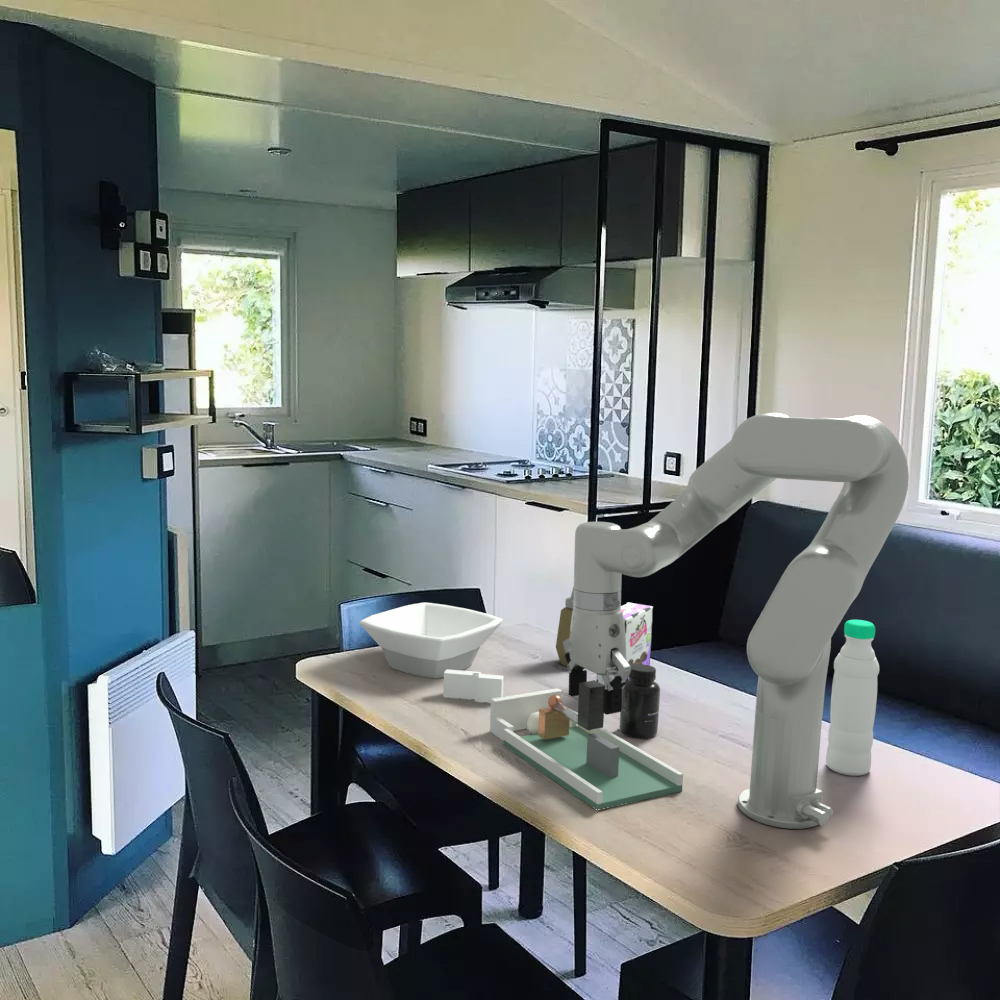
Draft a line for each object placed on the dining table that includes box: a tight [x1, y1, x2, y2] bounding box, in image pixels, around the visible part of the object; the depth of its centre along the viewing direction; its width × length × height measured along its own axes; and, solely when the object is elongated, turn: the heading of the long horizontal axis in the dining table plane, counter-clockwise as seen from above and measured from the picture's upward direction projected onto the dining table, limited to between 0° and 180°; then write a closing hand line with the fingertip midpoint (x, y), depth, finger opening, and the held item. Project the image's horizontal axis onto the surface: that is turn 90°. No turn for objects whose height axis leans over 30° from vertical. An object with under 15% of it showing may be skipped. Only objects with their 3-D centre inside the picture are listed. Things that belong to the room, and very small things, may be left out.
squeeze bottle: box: [555, 585, 574, 667], centre depth 221 cm, size 8×8×18 cm
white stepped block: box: [442, 669, 504, 704], centre depth 197 cm, size 15×11×6 cm
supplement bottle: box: [619, 664, 661, 740], centre depth 182 cm, size 7×7×12 cm
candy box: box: [595, 602, 654, 689], centre depth 206 cm, size 14×6×16 cm, turn 148°
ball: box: [527, 712, 539, 734], centre depth 180 cm, size 4×4×4 cm
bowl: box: [359, 602, 504, 680], centre depth 217 cm, size 24×25×10 cm
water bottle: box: [825, 619, 880, 777], centre depth 168 cm, size 7×7×25 cm
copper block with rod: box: [538, 679, 605, 740], centre depth 170 cm, size 13×5×12 cm, turn 30°
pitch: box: [489, 687, 684, 811], centre depth 169 cm, size 34×16×6 cm, turn 30°
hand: (594, 703), depth 165 cm, fingers open, 9 cm apart
